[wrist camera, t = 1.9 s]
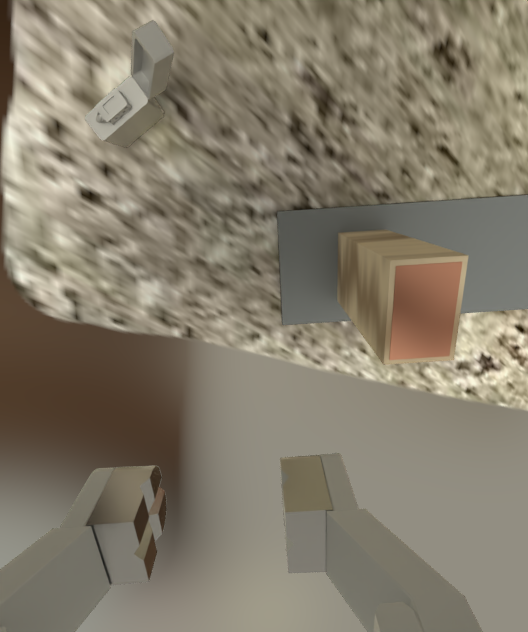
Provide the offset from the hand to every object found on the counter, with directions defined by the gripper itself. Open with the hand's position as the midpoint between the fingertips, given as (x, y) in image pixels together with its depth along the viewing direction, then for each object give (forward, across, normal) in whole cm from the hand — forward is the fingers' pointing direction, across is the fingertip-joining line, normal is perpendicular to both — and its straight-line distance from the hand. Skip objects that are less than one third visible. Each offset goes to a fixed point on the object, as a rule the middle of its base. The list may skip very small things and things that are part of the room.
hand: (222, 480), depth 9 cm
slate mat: (+23, -16, 0) cm, 28 cm away
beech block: (+23, -10, 0) cm, 25 cm away
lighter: (+23, +6, -13) cm, 27 cm away
